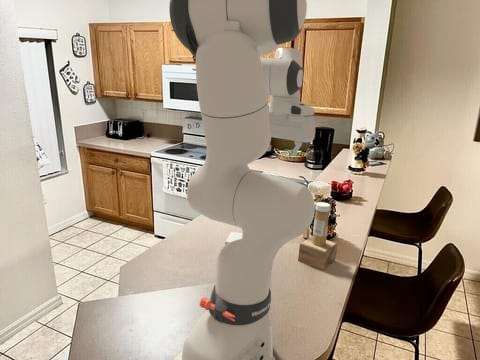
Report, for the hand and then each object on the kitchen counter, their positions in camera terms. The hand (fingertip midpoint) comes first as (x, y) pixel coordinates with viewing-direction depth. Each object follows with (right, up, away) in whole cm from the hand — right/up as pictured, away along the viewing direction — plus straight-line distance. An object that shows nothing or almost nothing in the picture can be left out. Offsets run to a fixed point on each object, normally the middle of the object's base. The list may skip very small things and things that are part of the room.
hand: (280, 153), depth 110 cm
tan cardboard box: (+13, -35, +9) cm, 38 cm away
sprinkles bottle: (+13, -29, +7) cm, 33 cm away
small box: (-14, -36, +1) cm, 38 cm away
